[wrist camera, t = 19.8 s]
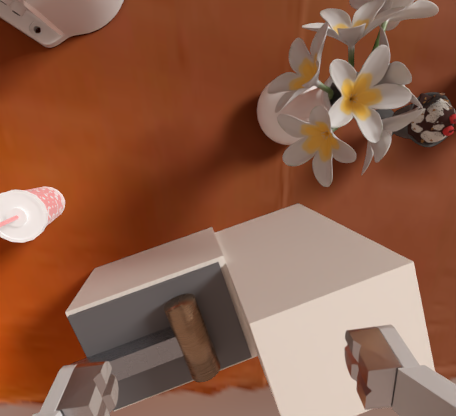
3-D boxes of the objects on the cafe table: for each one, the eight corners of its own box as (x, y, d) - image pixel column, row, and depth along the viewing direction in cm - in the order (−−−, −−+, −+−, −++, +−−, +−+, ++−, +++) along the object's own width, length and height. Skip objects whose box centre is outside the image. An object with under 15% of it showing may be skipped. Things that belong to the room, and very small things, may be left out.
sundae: (391, 152, 52) (474, 155, 38) (355, 137, 51) (427, 135, 36) (409, 111, 51) (500, 99, 37) (372, 95, 50) (453, 76, 35)
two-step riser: (129, 346, 52) (83, 538, 27) (94, 268, 49) (3, 403, 24) (318, 275, 54) (438, 391, 29) (296, 197, 51) (411, 250, 26)
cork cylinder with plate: (91, 403, 38) (82, 429, 35) (58, 339, 36) (45, 360, 33) (218, 354, 39) (222, 374, 36) (193, 289, 37) (195, 304, 34)
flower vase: (340, 56, 48) (505, -33, 24) (304, 178, 51) (419, 211, 27) (256, 27, 46) (344, -103, 21) (223, 158, 48) (268, 173, 24)
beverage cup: (53, 232, 47) (2, 269, 33) (14, 206, 45) (-55, 233, 32) (80, 199, 47) (39, 223, 33) (41, 172, 45) (-18, 184, 32)
